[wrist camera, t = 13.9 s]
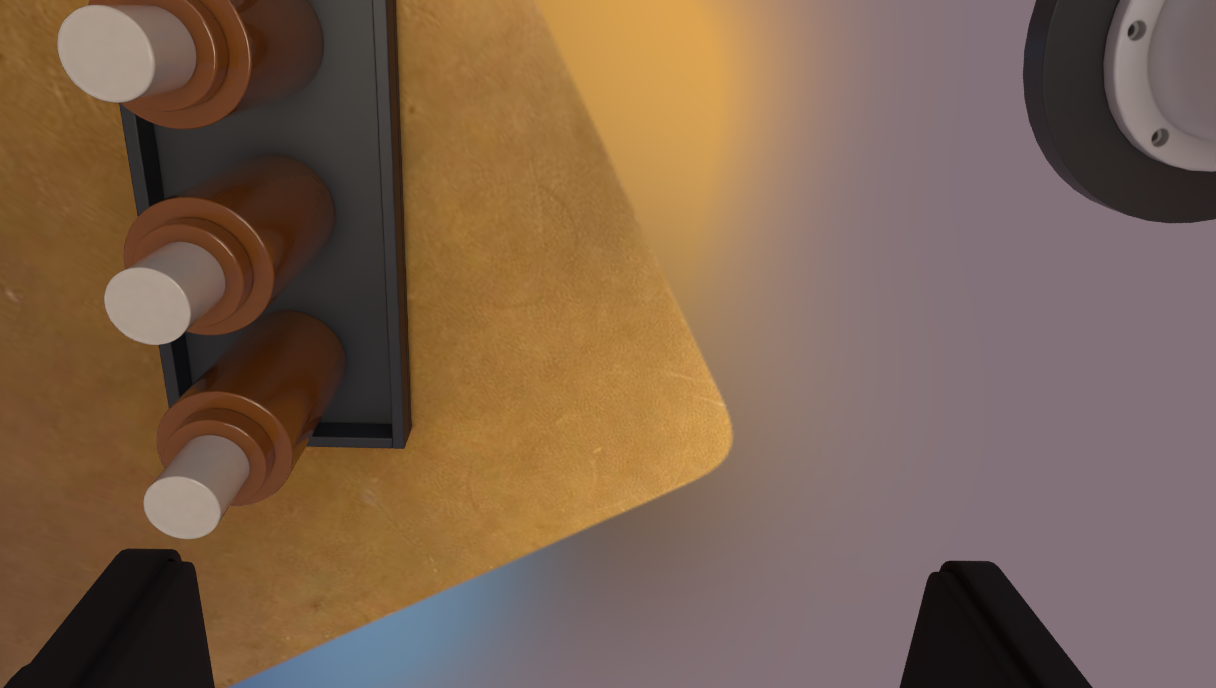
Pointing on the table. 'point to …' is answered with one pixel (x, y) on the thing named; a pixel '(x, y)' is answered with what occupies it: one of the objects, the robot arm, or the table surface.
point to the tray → (364, 216)
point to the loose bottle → (244, 422)
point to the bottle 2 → (220, 250)
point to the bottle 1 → (191, 55)
